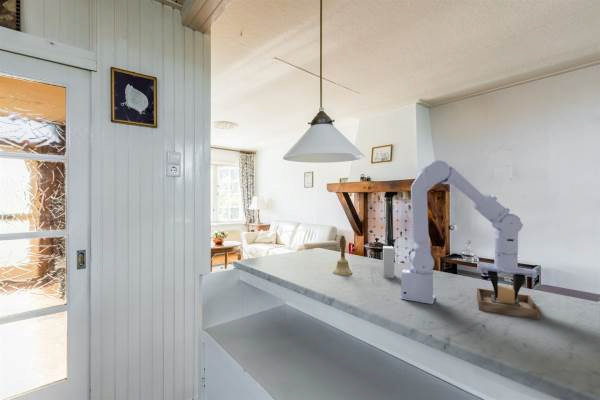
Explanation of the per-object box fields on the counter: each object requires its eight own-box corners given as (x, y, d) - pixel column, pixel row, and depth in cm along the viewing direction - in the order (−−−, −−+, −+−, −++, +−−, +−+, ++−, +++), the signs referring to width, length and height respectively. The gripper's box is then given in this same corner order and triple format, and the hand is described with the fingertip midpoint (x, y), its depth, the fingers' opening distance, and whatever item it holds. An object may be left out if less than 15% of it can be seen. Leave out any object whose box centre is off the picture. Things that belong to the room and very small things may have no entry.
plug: (497, 303, 87) (498, 288, 87) (496, 299, 90) (496, 285, 90) (514, 306, 85) (514, 291, 85) (512, 302, 88) (512, 287, 88)
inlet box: (478, 309, 85) (479, 301, 85) (476, 295, 97) (476, 288, 97) (539, 319, 78) (540, 310, 78) (529, 303, 91) (529, 295, 91)
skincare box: (394, 278, 117) (394, 248, 117) (383, 277, 118) (383, 248, 118) (392, 274, 123) (393, 246, 123) (382, 273, 124) (382, 245, 124)
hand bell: (353, 275, 121) (354, 237, 120) (333, 275, 121) (334, 236, 120) (350, 270, 129) (351, 234, 129) (331, 270, 129) (332, 234, 129)
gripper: (478, 252, 88) (477, 297, 88) (539, 258, 81) (538, 306, 81) (477, 248, 94) (476, 290, 94) (534, 253, 87) (533, 299, 87)
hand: (505, 297), depth 88 cm, fingers closed on plug, 4 cm apart
